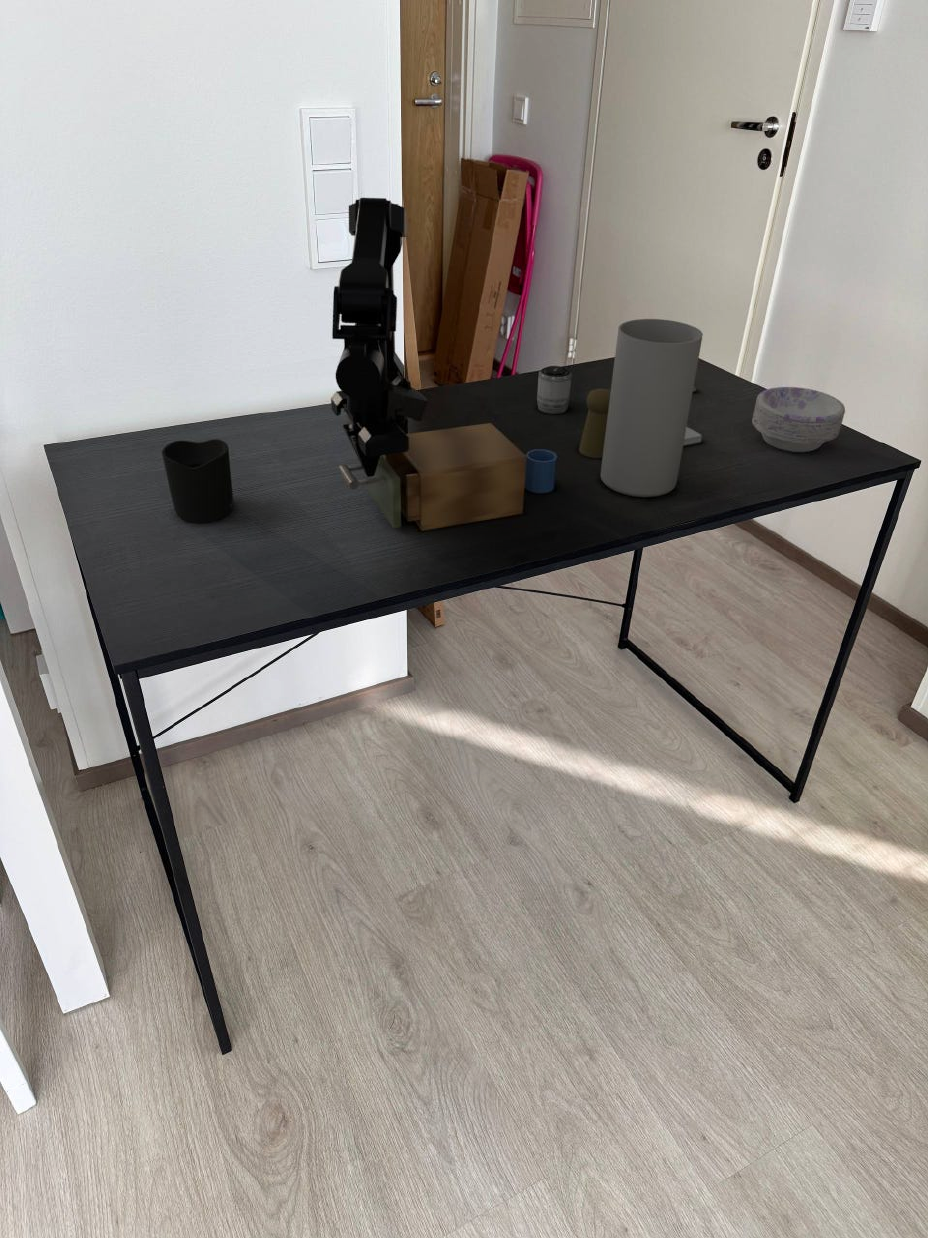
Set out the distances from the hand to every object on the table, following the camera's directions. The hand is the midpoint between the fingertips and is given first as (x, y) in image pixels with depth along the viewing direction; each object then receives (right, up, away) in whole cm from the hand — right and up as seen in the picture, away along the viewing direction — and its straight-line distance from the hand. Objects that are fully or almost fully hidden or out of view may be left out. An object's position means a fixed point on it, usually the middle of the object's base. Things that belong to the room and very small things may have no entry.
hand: (370, 475), depth 133 cm
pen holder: (-26, -5, +4) cm, 26 cm away
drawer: (+6, -4, +5) cm, 9 cm away
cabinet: (+13, -3, +8) cm, 15 cm away
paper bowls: (+74, +11, +32) cm, 81 cm away
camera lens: (+31, +20, +43) cm, 56 cm away
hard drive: (+50, +11, +31) cm, 60 cm away
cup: (+26, 0, +14) cm, 30 cm away
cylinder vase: (+43, +1, +16) cm, 46 cm away
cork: (+37, +8, +26) cm, 46 cm away
